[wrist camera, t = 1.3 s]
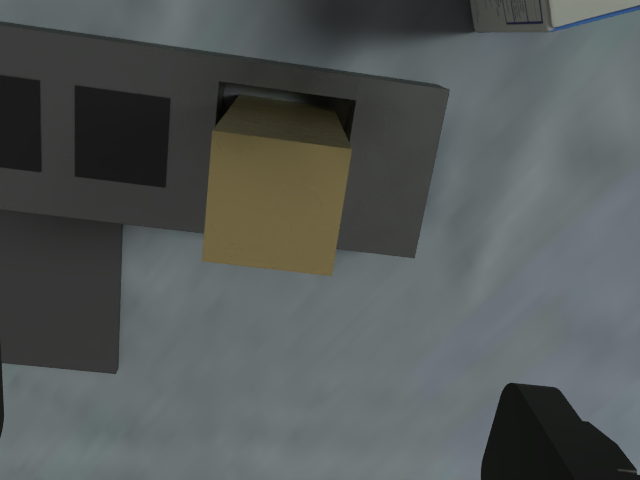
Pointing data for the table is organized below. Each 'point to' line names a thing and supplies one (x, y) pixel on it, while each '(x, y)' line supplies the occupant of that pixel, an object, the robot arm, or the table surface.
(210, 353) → the table surface
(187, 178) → the rail
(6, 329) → the rubber mat
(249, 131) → the brass block
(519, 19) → the medicine box
